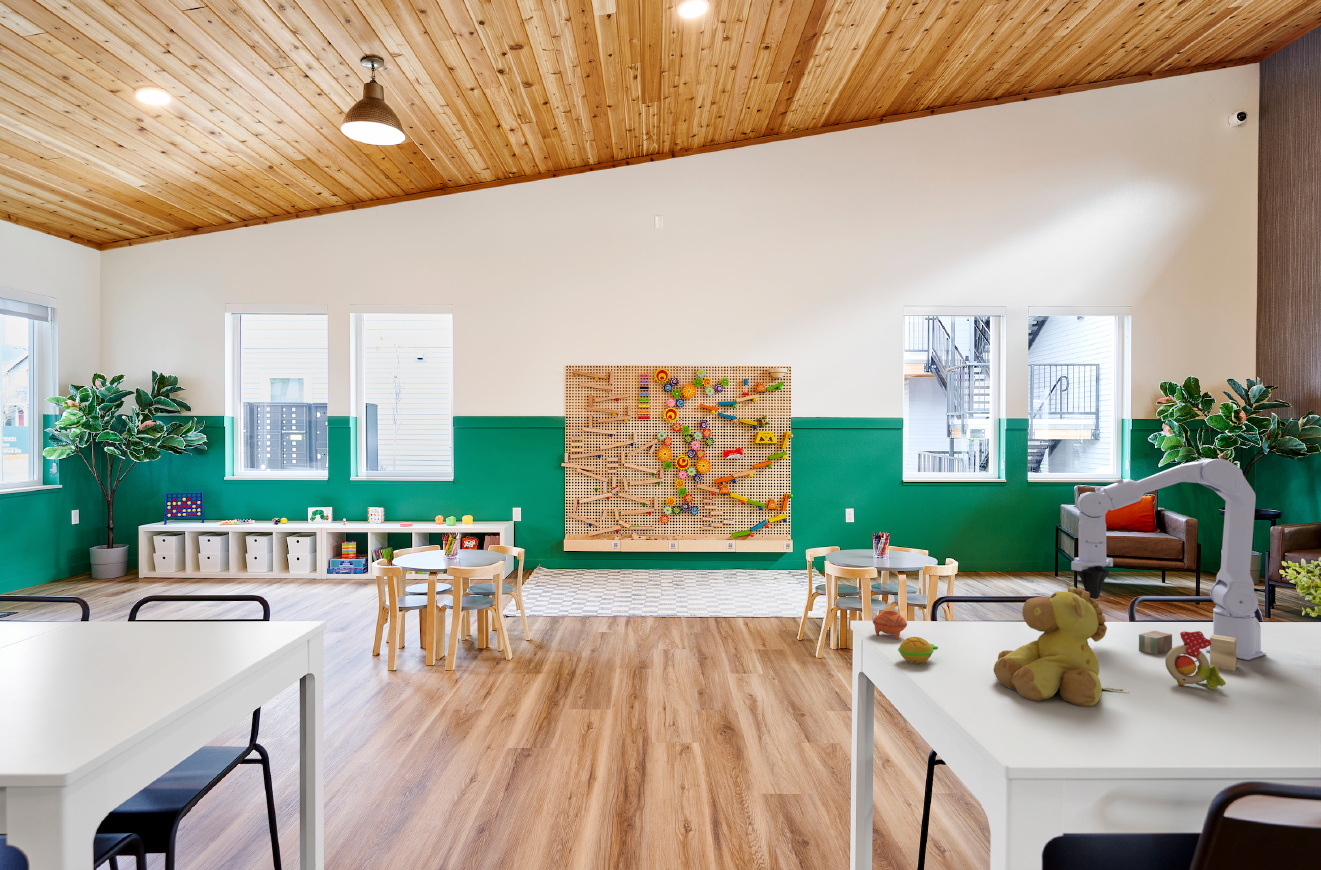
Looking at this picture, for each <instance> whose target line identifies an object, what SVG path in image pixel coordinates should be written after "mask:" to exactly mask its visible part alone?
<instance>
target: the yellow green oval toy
mask: <svg viewBox="0 0 1321 870" xmlns="http://www.w3.org/2000/svg"><path fill="white" fill-rule="evenodd" d="M938 649H939V647H938V646H937V645H934V644H932V643H929V642H928V641H927V640H926V639H924V638H922V637H919V636H910V637H908V638H905V639H904V640H903V641H902V642H901V644H900V645H899V646H898V649H897V651H898V652H899V654H900V656H901V657H902V658H903V660H905V661H906V662H909V663H910V664H916V665H918V664H923V663H925V662H927V661H928V660H929V659H930V658H931V657H932V655H933V654H934V650H935V651H936V650H938Z"/></svg>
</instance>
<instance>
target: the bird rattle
mask: <svg viewBox="0 0 1321 870" xmlns="http://www.w3.org/2000/svg"><path fill="white" fill-rule="evenodd" d="M1179 635H1180V638H1181V641H1182V642H1183V644H1182V645H1177V646H1174V647H1172V649H1171V650H1170V651H1167V653H1166V655H1165V660H1164V661H1165V662H1164V663H1165V667H1166V669H1167V672H1168V673H1169V675H1171V677H1172V678H1173V679H1174V680H1176V682H1177V685H1179V686H1181V687H1184V686H1186V685H1195V684H1199V683H1202V682H1205V681H1206V685H1207V688H1209V690H1212V691H1213V690H1216V689H1217V688H1218V687H1219V686H1220V687H1223V686H1226V684H1227V683H1226V681H1225V679H1224V678H1223V677H1222V676H1221V675H1220V672H1219V668H1217V667H1216V666H1214V665H1211V666H1210V660H1209V659H1208V657H1207V656H1206V655H1205V653H1204V652H1203V651H1201V650H1205V649H1207V648H1209V647H1210V645H1211V640H1210V638H1209V639H1208V638H1207V637H1205V635H1204V633H1203V632H1202V631H1200V630H1198V631H1191V632H1190V631H1181V632H1180V633H1179ZM1193 658H1194V659H1196V660H1194V659H1193ZM1196 662H1198V664H1196Z"/></svg>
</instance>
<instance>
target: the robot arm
mask: <svg viewBox="0 0 1321 870" xmlns="http://www.w3.org/2000/svg"><path fill="white" fill-rule="evenodd" d="M1178 483H1195V484H1197V483H1198V484H1200V485H1202V486H1204V487H1205V488H1208V489H1210V490H1212V491H1214V492H1215V493H1216V494H1217V495H1218V496H1220V497H1221V498H1222V499H1223V500H1224V501H1225V506H1224V508H1225V509H1224V523H1223V533H1222V546H1221V559H1220V560H1221V561H1220V569H1219V571H1218V572H1217V574H1216V580H1215V582H1214V584H1213V585H1212V587H1211V588H1210V592H1209V595H1210V599H1211V600H1212V601H1213V603H1214V604H1215V607H1214V608H1213V609H1212V610H1213V613H1212V614H1213V615H1212V617H1213V619H1212V622H1213V623H1212V624H1213V625H1212V626H1213V627H1212V629H1213V634H1212V635H1220V636H1226V637H1232V638H1237V659H1241V660H1245V661H1250V660H1253V659H1256V658H1259V657H1262V656H1265V655H1267V652H1266V651H1262V649H1261V648H1262V646H1261V645H1262V643H1261V641H1262V640H1261V638H1262V635H1261V633H1262V632H1261V631H1262V630H1261V628H1262V626H1261V623H1260V622H1259V620H1258V619H1257V617H1255V616H1256V613H1255V612H1256V611H1257V610H1258V608H1259V600H1258V597H1257V595H1256V593H1255V583H1254V581H1253V577H1252V576H1251V563H1252V551H1253V540H1254V539H1253V538H1254V536H1253V535H1254V523H1255V511H1256V509H1255V508H1256V500H1257V499H1256V496H1257V495H1256V492H1255V491H1254V490H1253V487H1252V486H1251V485H1250V483H1249V482H1248V481H1247V479H1246V477H1245V475H1244V474H1243V470H1242V469H1241V468H1240V467H1238V466H1237V465H1235V464H1234V463H1232V462H1231V461H1229V460H1227V459H1223V458H1214V459H1212V458H1201V459H1199V460H1197V461H1191V462H1186V463H1183V464H1178V465H1176V466H1173V467H1171V468H1168V469H1165V470H1163V471H1161V472H1158V473H1155V474H1153V475H1150V476H1148V477H1147V476H1146V477H1144V478H1141V479H1139V480H1133V479H1130V478H1126V479H1123V478H1122V477H1121V478H1118V479H1115V482H1114V483H1112V484H1109V485H1106V486H1103V487H1100V486H1097V487H1095V488H1094V491H1095V492H1094V491H1093V492H1092V491H1087V492H1084V493H1082V494H1081V495H1080V496H1078V498H1077V501H1076V503H1075V505H1076V506H1075V507H1076V509H1077V510H1078V511H1079V512H1078V513H1079V514H1078V520H1079V521H1078V557H1073V560H1072V561H1071V566H1070V567H1071V569H1070V570H1072V571H1075V572H1076V573H1077V574H1078V577H1079V578H1080V580H1081V582H1082V585H1083V588H1084V590H1085V591H1087V592H1089V593H1090V598H1092V599H1093V600H1098V599H1099V598H1100V595H1101V591H1102V587H1103V584H1104V582H1105V581H1106V578H1107V577H1108V575H1109V574H1110V569H1108V568H1104V567H1113V566H1114V558H1112V557H1107V524H1106V514H1107V513H1108V511H1109V510H1110V511H1115V510H1118V509H1121V508H1123V507H1126V506H1130V505H1132V504H1135V503H1137V502H1140V501H1141V500H1142V498H1143V496H1144V494H1147V493H1151V492H1153V491H1156V490H1159V489H1163V488H1167V487H1170V486H1172V485H1176V484H1178ZM1204 650H1205V651H1206V652H1208V653H1210V647H1206V648H1205V649H1204Z"/></svg>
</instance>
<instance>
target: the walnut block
mask: <svg viewBox="0 0 1321 870" xmlns="http://www.w3.org/2000/svg"><path fill="white" fill-rule="evenodd" d="M1172 648H1173V634H1172V633H1167V632H1163V631H1159V630H1158V631H1157V630H1151V631H1148V632H1144V633H1143V632H1142V633H1139V634H1138V651H1140V652H1145V653H1149V654H1153V655H1160V654H1163V653H1166V652H1167V653H1168V652H1169V651H1170V650H1171V649H1172Z"/></svg>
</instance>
